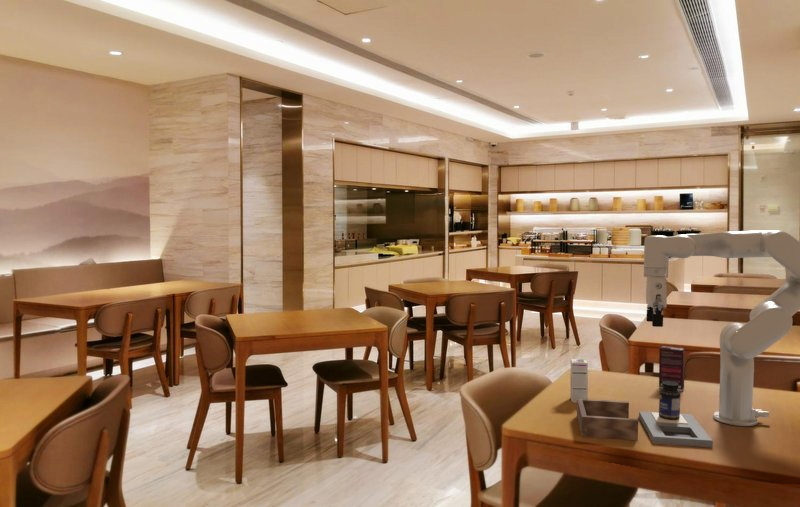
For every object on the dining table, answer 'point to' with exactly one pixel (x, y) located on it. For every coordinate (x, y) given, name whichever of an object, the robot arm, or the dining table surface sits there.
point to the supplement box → (672, 366)
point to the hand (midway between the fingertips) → (654, 323)
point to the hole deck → (675, 430)
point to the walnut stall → (606, 419)
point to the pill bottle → (669, 401)
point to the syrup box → (579, 379)
